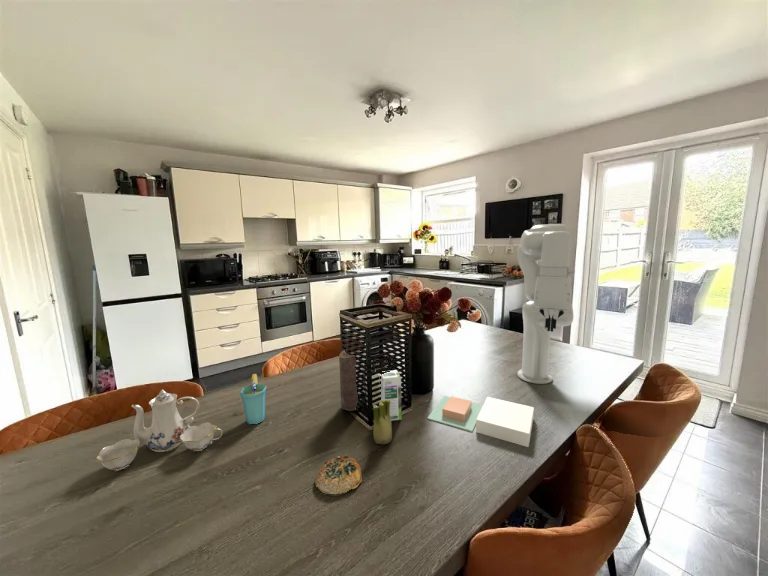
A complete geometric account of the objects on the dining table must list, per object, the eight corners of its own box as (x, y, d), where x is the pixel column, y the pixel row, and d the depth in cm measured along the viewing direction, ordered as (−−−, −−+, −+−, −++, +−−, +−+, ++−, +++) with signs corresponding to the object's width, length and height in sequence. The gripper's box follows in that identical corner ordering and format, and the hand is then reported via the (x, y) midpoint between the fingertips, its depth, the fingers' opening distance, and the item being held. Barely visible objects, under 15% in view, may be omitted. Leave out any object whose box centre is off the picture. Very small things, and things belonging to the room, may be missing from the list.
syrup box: (384, 422, 95) (383, 378, 93) (380, 412, 101) (379, 370, 98) (401, 420, 96) (401, 376, 94) (397, 410, 102) (396, 368, 100)
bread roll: (340, 455, 81) (341, 439, 79) (371, 480, 74) (372, 464, 72) (305, 482, 72) (305, 465, 71) (336, 514, 65) (337, 495, 64)
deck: (486, 407, 102) (487, 396, 101) (533, 419, 95) (533, 407, 95) (476, 432, 89) (476, 419, 89) (528, 447, 82) (529, 433, 82)
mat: (444, 396, 110) (444, 395, 110) (484, 406, 103) (484, 405, 103) (427, 419, 96) (427, 417, 96) (472, 432, 89) (472, 430, 89)
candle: (359, 415, 99) (357, 356, 96) (337, 413, 101) (335, 355, 98) (365, 403, 107) (363, 348, 104) (345, 401, 108) (343, 347, 105)
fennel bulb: (374, 448, 83) (373, 407, 81) (370, 437, 88) (369, 398, 86) (395, 444, 85) (394, 404, 83) (390, 434, 89) (389, 395, 87)
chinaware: (89, 495, 71) (74, 434, 67) (110, 447, 86) (99, 395, 82) (224, 454, 84) (218, 401, 80) (223, 419, 99) (217, 372, 95)
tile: (471, 401, 101) (471, 408, 101) (451, 396, 104) (450, 403, 105) (464, 414, 93) (464, 422, 94) (442, 408, 97) (442, 416, 97)
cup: (272, 430, 92) (268, 383, 90) (243, 437, 89) (239, 389, 86) (266, 408, 104) (263, 366, 102) (242, 414, 101) (238, 371, 99)
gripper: (582, 272, 93) (577, 330, 95) (528, 270, 100) (525, 324, 103) (583, 274, 86) (578, 336, 89) (525, 272, 94) (523, 330, 97)
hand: (550, 330), depth 96 cm, fingers closed
